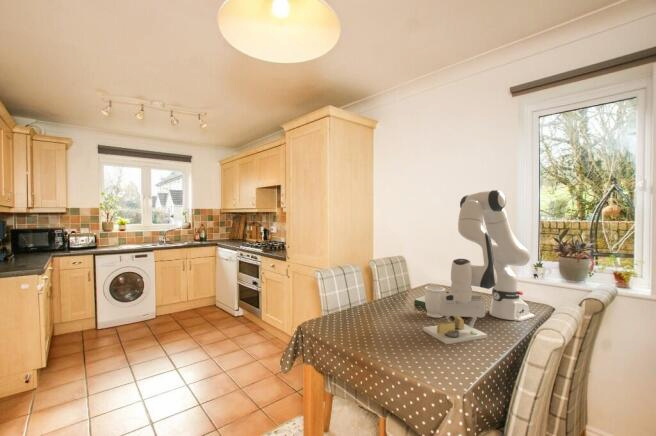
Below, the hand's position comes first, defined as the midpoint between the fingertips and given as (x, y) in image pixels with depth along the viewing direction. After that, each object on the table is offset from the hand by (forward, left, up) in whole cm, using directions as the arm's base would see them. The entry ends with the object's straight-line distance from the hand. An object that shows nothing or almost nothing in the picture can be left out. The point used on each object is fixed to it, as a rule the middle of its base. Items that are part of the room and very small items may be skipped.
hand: (460, 325), depth 138 cm
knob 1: (+9, +2, -3) cm, 9 cm away
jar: (-6, -26, -4) cm, 27 cm away
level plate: (+2, -2, -4) cm, 5 cm away
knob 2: (-1, -3, -3) cm, 4 cm away
